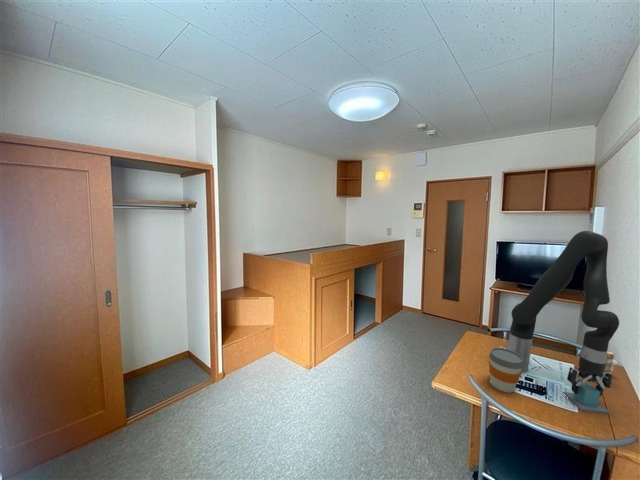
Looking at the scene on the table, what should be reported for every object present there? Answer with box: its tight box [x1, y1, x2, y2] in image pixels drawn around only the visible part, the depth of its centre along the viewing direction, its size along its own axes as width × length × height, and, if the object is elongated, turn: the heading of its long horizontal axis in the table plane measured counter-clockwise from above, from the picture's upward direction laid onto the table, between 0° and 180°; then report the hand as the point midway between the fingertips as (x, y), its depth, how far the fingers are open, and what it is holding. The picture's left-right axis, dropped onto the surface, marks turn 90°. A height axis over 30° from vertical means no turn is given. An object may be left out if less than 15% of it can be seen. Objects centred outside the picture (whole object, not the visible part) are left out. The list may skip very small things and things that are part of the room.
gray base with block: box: [562, 391, 610, 415], centre depth 112 cm, size 10×10×6 cm
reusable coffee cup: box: [488, 347, 523, 393], centre depth 121 cm, size 13×13×15 cm
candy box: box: [600, 350, 615, 383], centre depth 129 cm, size 9×4×15 cm, turn 13°
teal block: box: [573, 382, 600, 407], centre depth 112 cm, size 5×5×7 cm
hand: (586, 393), depth 112 cm, fingers open, 8 cm apart
